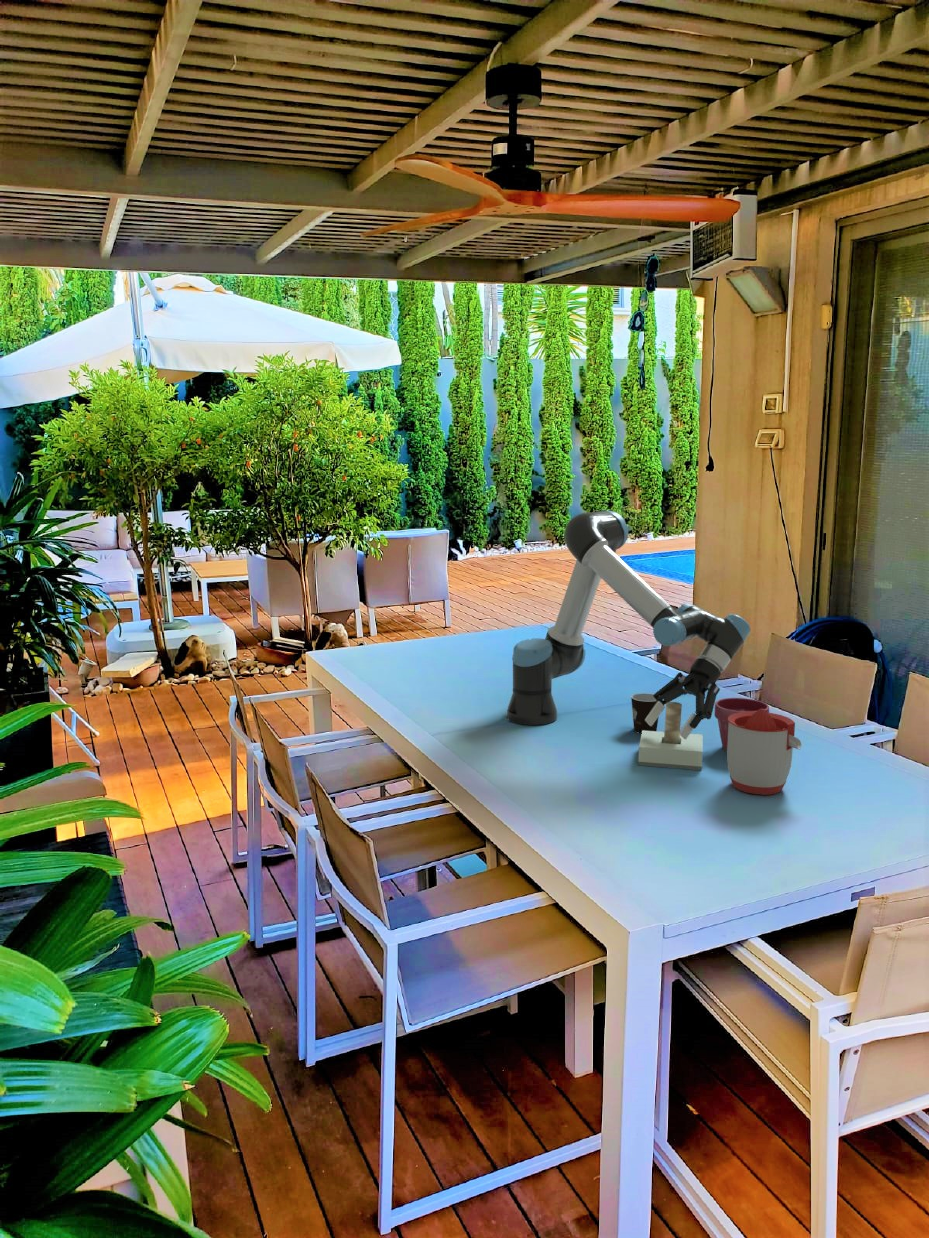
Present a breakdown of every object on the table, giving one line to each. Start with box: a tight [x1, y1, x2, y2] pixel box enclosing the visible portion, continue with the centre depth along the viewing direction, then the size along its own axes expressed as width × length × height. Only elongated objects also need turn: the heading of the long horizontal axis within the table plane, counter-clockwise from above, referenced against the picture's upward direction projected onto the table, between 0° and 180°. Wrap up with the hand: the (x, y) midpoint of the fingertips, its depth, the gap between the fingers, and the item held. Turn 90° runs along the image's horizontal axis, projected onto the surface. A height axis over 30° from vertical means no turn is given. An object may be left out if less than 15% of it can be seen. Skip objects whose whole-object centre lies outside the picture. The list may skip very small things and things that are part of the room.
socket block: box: [637, 730, 704, 771], centre depth 251 cm, size 16×14×5 cm
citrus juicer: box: [726, 709, 802, 796], centre depth 229 cm, size 16×17×20 cm
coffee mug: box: [630, 692, 659, 734], centre depth 275 cm, size 12×9×10 cm
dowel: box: [663, 701, 683, 744], centre depth 250 cm, size 4×4×14 cm
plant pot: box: [713, 697, 770, 752], centre depth 257 cm, size 14×14×13 cm
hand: (664, 729), depth 248 cm, fingers open, 12 cm apart
